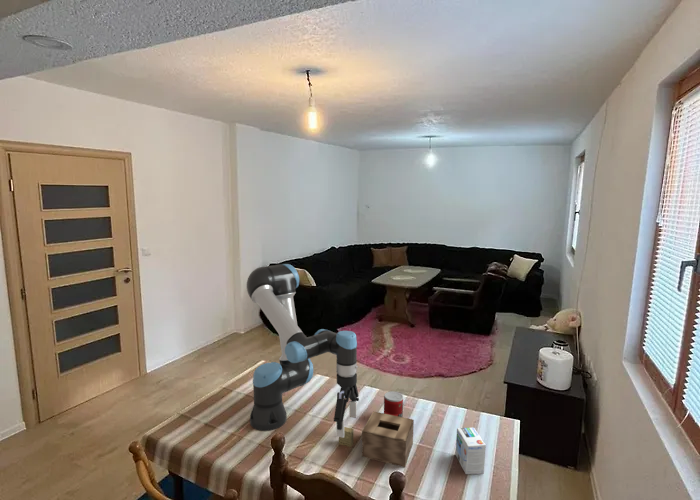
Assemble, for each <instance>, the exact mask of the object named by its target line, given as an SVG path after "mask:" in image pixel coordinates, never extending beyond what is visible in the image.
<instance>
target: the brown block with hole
mask: <svg viewBox="0 0 700 500" xmlns="http://www.w3.org/2000/svg"><path fill="white" fill-rule="evenodd" d="M414 421H415V420H414V419H412V418H408V417H407V418H406V417H398V416H393V415H389V414H384V412H383V413H382V412H378V411H372V412H371V415H370V416H369V418H368V420H367V421H366V424H365V425H364V428H363V429H362V430H361V457H362V458H366V459H369V460H373V461H377V462H381V463H382V462H383V463H386V464H389V465H394V466H398V467H402V468H406V466H407V463H408V459H409V457H410V453H411V452H412V449H413V448H412V447H413V444H414Z"/></svg>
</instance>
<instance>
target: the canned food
mask: <svg viewBox="0 0 700 500" xmlns="http://www.w3.org/2000/svg"><path fill="white" fill-rule="evenodd" d="M403 408H404V395H403V394H402V393H400V392H398V391H392V390H391V391H388V392H385V393H384V396H383V413H384V414H389V415H393V416H398V417H403V413H404V409H403ZM403 418H404V417H403Z"/></svg>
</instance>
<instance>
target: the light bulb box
mask: <svg viewBox="0 0 700 500" xmlns="http://www.w3.org/2000/svg"><path fill="white" fill-rule="evenodd" d="M455 440H456V442H455V456H456V458H457V460H458V462H459V464H460V466H461V468H462V470H463V471H464V473H465V475H477V474H479V475H482V474H484V473H485V461H486V460H485V459H486V447H487V446H486V445H487V444H486V443H485V442H484V441H483V439H482V437H481V435H480V434H479V433H478V431H477V430H476V428H475V427H460V428H459V427H457V428H456V439H455Z"/></svg>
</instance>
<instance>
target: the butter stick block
mask: <svg viewBox="0 0 700 500" xmlns="http://www.w3.org/2000/svg"><path fill="white" fill-rule="evenodd" d="M338 445H340V446H344V447H348V448H352V446H353V445H354V428H351V427H347V426H344V438H342V437H338Z"/></svg>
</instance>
